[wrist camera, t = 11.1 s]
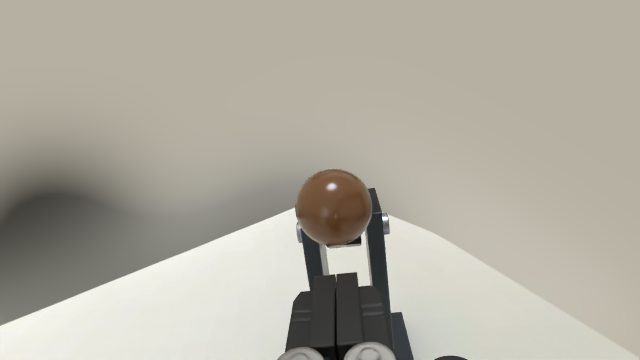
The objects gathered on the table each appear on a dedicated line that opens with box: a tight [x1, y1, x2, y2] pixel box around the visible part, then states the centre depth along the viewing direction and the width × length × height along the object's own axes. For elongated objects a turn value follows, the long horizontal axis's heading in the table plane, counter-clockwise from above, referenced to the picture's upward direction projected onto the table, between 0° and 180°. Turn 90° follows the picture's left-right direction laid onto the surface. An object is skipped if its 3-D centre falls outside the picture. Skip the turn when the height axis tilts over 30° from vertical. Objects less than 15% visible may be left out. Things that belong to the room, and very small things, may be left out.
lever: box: [295, 169, 372, 249], centre depth 21 cm, size 13×3×3 cm
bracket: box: [297, 188, 414, 360], centre depth 28 cm, size 10×8×14 cm
